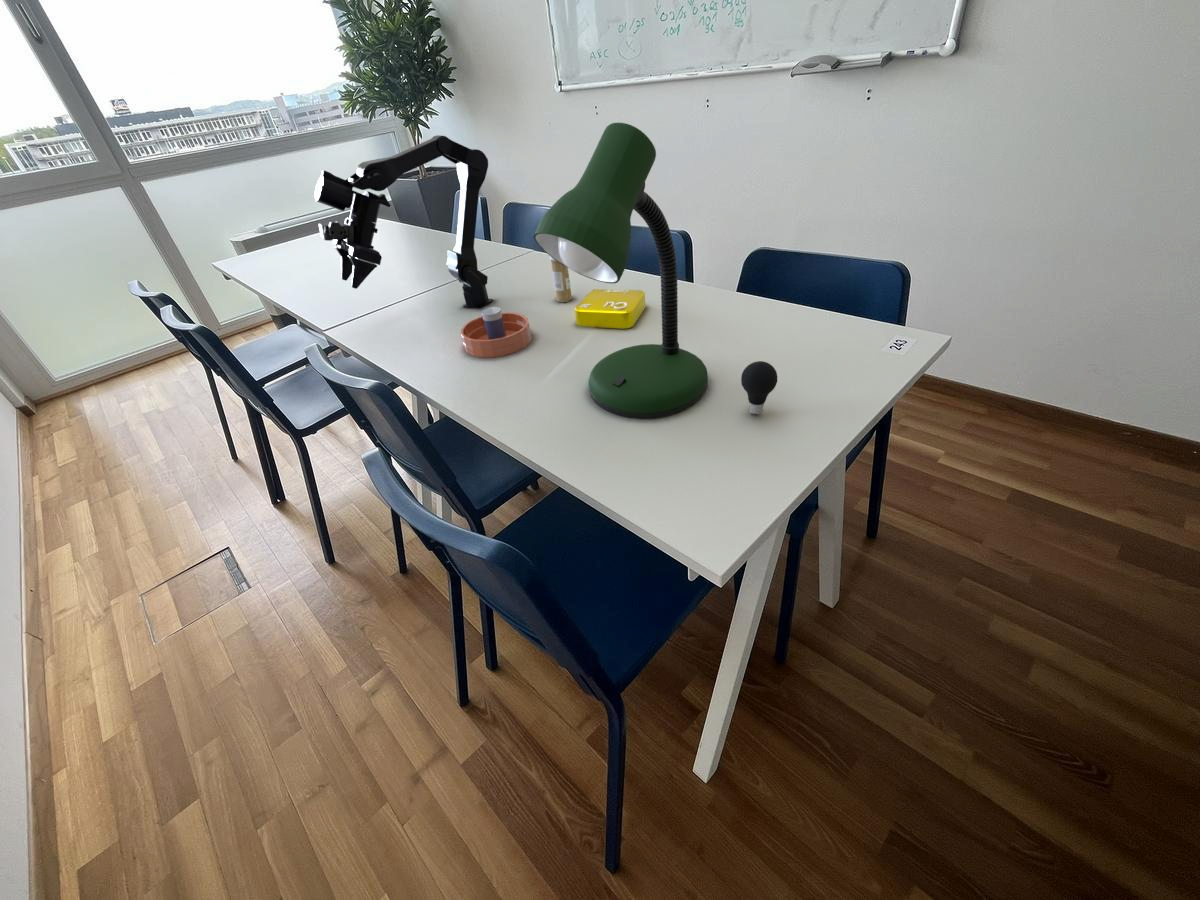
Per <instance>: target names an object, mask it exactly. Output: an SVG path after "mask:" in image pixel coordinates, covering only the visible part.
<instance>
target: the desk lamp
mask: <svg viewBox="0 0 1200 900" xmlns="http://www.w3.org/2000/svg"><path fill="white" fill-rule="evenodd" d="M602 132H603V133H602V134H601V136H600V139H599V141H598V142H597V145H596V147H595V149H594V151H593V153H592V154H591V158H590V160H589V161H588V164H587V166H586V168H585V170H584V172H583V173H582V176H581V177H580V179H579V181H578V182H577V184H576V185H575V186H574V187H573V188H572V189H570V190H568V191H567V192H566V193H564V194H563V195H562V196H560V198H558V199H557V200H556V202H555V203H554V204H553V205H551V207H550V208H549V209H548V210H547V211H546V212H545V213H544V214H543V215H542V217H541V219H540V221H539V223H538V225H537V227H536V229H535V232H534V234H533V239H534V241H535V243H536V244H537V245H538V246H539V247H540V249H541V250H542V251H544V252H545V254H547V255H548V256H549V257H550V256H551V257H552V258H553V259H555V260H556V261H558V262H559V263H561V264H562V265H564V266H565V267H567V268H568V270H570V271H572V272H574V273H577V274H578V275H580V276H583V277H585V278H588V279H591V280H593V281H596V282H599V283H600V282H601V283H604V284H605V283H606V284H618V283H619V282H620V281H621V278H622V276H623V274H624V271H625V269H626V268H627V266H628V260H629V254H630V247H631V239H632V238H631V237H632V223H631V218H632V214H633V211H635V212H636V213H637V214H638V215H639V216H640V217H641V218H642V219H643V221H644V222H645V224H646V225H647V228H648V229H649V231H650V233H651V236H652V238H653V241H654V245H655V249H656V252H657V257H658V264H659V271H660V272H659V273H660V274H659V275H660V305H661V340H662V343H661V344H658V343H657V344H655V343H650V344H649V343H647V344H637V345H632V346H628V347H624V348H621V349H619V350H616V351H614V352H611V353H610V354H608V355H606V356H605V357H603V358H602V359H600V360H599V361H598V362H597V363H596V364H595V365H594V367H593V368H592V370H591V371H590V372H589V373H590V374H589V378H588V389H589V394H590V397H591V399H592V400H593V402H594V403H595V404H597V405H598V406H599V407H600V408H602V409H603V410H606V411H607V412H609V413H612V414H615V415H617V416H621V417H626V418H630V419H639V420H640V419H641V420H648V419H649V420H651V419H653V420H655V419H661V418H665V417H670V416H673V415H677V414H679V413H681V412H683V411H685V410H687V409H689V408H691V407H692V406H694V405H695V404H697V403H698V402H699V401H700V400H701V399H702V398H703V397H704V396H705V394H706V392H707V390H708V381H709V376H708V369H707V366H706V365H705V363H704V362H703V360H702V359H700V357H698V356H697V355H696V354H694V353H692V352H690V351H688V350H685V349H683V348H681V347H680V344H679V334H678V333H679V330H678V329H679V323H678V322H679V321H678V320H679V319H678V317H679V316H678V314H679V313H678V311H679V310H678V308H679V307H678V306H679V302H678V301H679V299H678V266H677V257H676V249H675V245H674V240H673V237H672V233H671V229H670V227H669V224H668V221H667V219H666V216H665V215H664V213H663V211H662V210H661V208H660V207H659V205H658V204H657V203H656V201H655V200H654V199H653V198H652V197H651V196H650V195H649V194H648V193H647V192H646V191H645V188H646V180H647V178H648V176H649V174H650V172H651V171H652V168H653V166H654V163H655V161H656V159H657V158H656V157H657V150H656V147H655V145H654V143H653V142H652V141H651V139H650V138H649V137H648V135H647V134H646V133H645V132H643V131H642V130H641V129H639V128H638V127H636V126H634V125H632V124H630V123H625V122H612V123H610V124H608V125H607V126H606V127H605V129H604V131H602Z"/></svg>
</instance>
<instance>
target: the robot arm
mask: <svg viewBox="0 0 1200 900" xmlns="http://www.w3.org/2000/svg"><path fill="white" fill-rule="evenodd" d="M440 157H443V158H444V159H445V160H448V161H449V162H450V163H453V164H455V165H456V173H457V178H458V181H459V185H460V192H459V201H458V202H459V203H458V215H457V227H456V229H457V230H456V241H455V246H454V247H453V249H452V250H451V249H447V253H446V254H447V259H446V263H445V265H446V266H447V267H448V268H447V269H448V272H449V274H450V275H451V276H452V277H454V278H455V279H457V281H458V282H460V283H461V284H462V286H461V288H462V292H463V293H462V295H463V297H464V302H465V303H464V304H463V305H462V307H463V308H464V309H465V308H466V309H477V310H478V309H479V310H481V309H483V308H484V307H486V306H488V305H490V304H491V303H493V301H494V299H493V298H489V295H488V290H487V286H486V285H487V284H488V280H489V279H488V275H487V274H484V273H483V272H481V271H479V269H478V259H477V254H476V251H475V239H476V228H477V220H478V219H477V217H478V208H479V207H478V206H479V199H480V198H479V195H480V190H481V188H482V186H483V184H484V182H485V180H486V177H487V173H488V168H489V158H488V157H487V156H486V154H485V153H484V152H483V151H482V150H480V149H477V148H476V149H475V148H469V147H467V146H465V145H462V144H460V143H459V142H455V141H454V140H452V139H450V138H449V137H447V136H446V135H439V134H438V135H434V136H433V137H431V138H430V139H427V140H426V141H423V142H421V143H418V144H416V145H414V146H411V147H410V148H407V149H405V150H403V151H400V152H398V153H396V154H394V155H392V156H388V157H381V158H375V159H371V160H366V161H363V162H361V163H359V164H358V165H357V168H356V172H355V173H353V174H352V175H350V176H349V177H347V178H346V179H344V178H341V177H339V176H337V175H334V174H333V173H332V172H330V171H327V170H325V169H323V170H321V174H320V176H319V178H318V180H317V183H316V184H315V187H314V200H315V202H317V203H318V204H319V203H320V204H322V205H325V206H327V207H330V208H333V209H336V210H339V211H341V212H344V211H345V210H346V209H350V208H351V209H350V213H349V217H346V218H344V223H341V222H338V221H329V222H318V228H319V234H320V239H322V240H324V241H332V244H333V245H334V246H333V247H334V249H335V250H336V252H337V253H338V254H339V258H340V272H341V280H343V281H348V279H349V278H350V277H351V288H352V289H356V290H357V289H358V288H359V287H360V286H361V284H362V283H363V282H364V281H365V280H366V279H367V277H369V275H370V274H371V273H372V272H373V271H374V270H375V269H376V268H378V266H380V265H381V264H382V263H381V262H382V254H380V251H378V250H376V249H375V246H374V245H372V244H373V239H374V235H375V234H378V231H379V230H378V228H376V227H377V221H378V218H379V214H380V209H381V205H382V206H385V207H387V208H390V207H391V203H390V202H389V200H388V198H387V196H386V194H384V193H380V194H376V193H373V192H371V191H375V192H383V191H385V190H386V189H388V188H389V187H390V186H392V185H393V184H394V183H395V182H397V180H398V179H399V178H400V177H401V176H403V175H404V174H405V173H406V174H407V173H408V172H410V171H412V170H414V169H416V168H419V167H422V166H423V165H425V164H427V163H430V162H432V161H435V159H436V160H437V159H438V158H440ZM353 188H354V189H358V190H361V191H364V192H363V193H360V192H357V191H355V190H353ZM368 190H371V191H368Z"/></svg>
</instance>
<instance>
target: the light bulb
mask: <svg viewBox="0 0 1200 900" xmlns="http://www.w3.org/2000/svg"><path fill="white" fill-rule="evenodd" d="M740 378H741V379H740V383H741V386H742V388H743V390H744V391H745V392H746V394H747V400H748V411H749V413H751V414H753V415H755V416H757V415H759V414H762V413H763V411H764V407H765V403H766V401H767V398H768V397H769V394H770V393H771V392H773V391H774V390H775V388H776V386H777V384H778V372H777V370H776V369H775V367H774V366H773V365H772V364H771V363H769V362H767V361H762V360H758V361H754V362H751V363H749V364H748V365H747V366H746V367H745V368H744V369H743V371H742V372H741V377H740Z"/></svg>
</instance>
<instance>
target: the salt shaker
mask: <svg viewBox="0 0 1200 900" xmlns="http://www.w3.org/2000/svg"><path fill="white" fill-rule="evenodd" d="M502 313H503V312H502V308H500V307H499V306H491V307H486V308H485V309H483V310H481V317H483V320H484V323H485V327H486V332H487V336H488V340H492V339H498V338H502V337H506V332H505V327H504V323H503V318H502Z"/></svg>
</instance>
